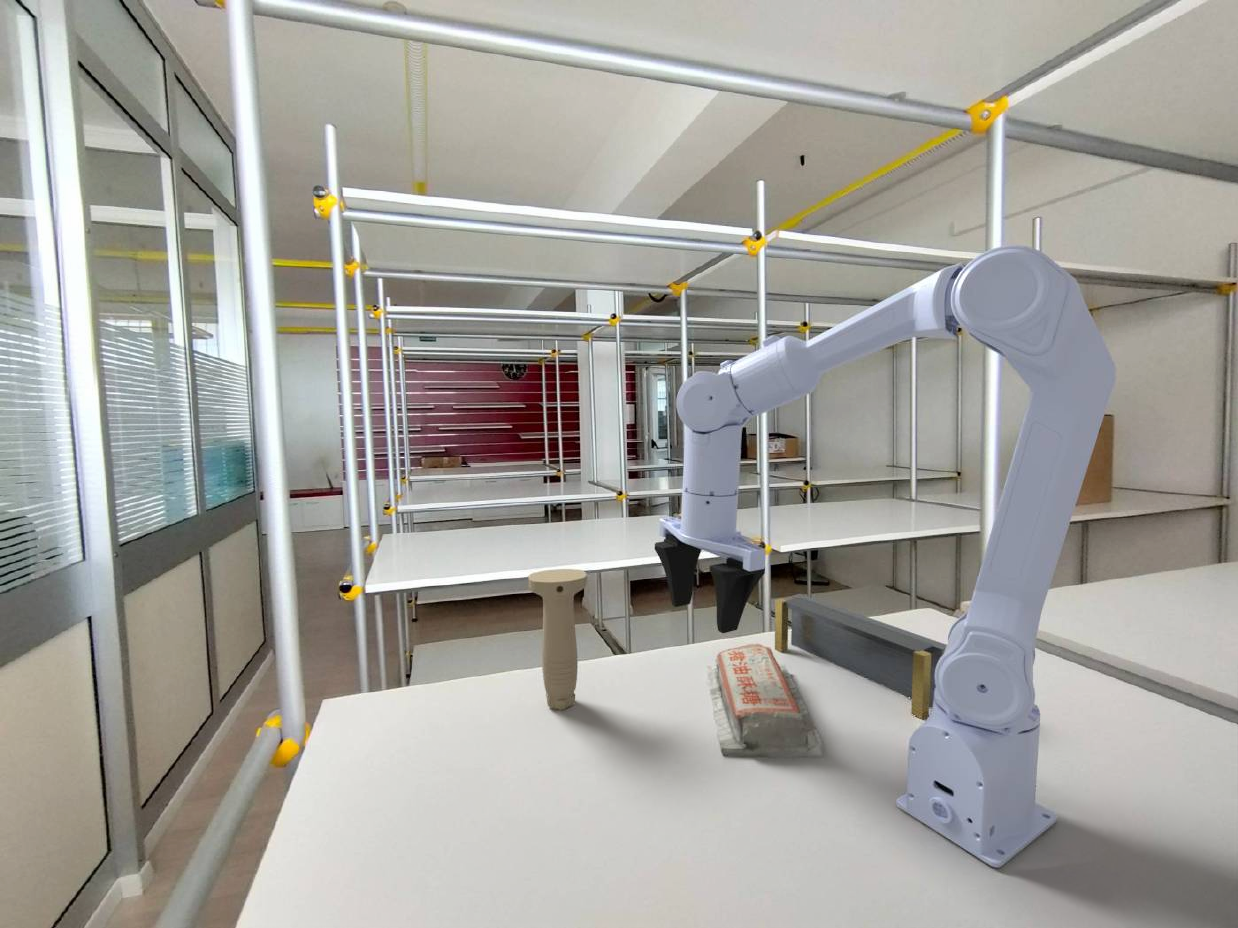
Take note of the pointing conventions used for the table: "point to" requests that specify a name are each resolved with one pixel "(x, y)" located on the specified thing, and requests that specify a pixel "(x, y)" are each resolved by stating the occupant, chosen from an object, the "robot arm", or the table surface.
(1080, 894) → the table surface
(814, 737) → the packaged product
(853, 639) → the grey long bar
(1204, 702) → the table surface
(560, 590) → the handle
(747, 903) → the table surface
